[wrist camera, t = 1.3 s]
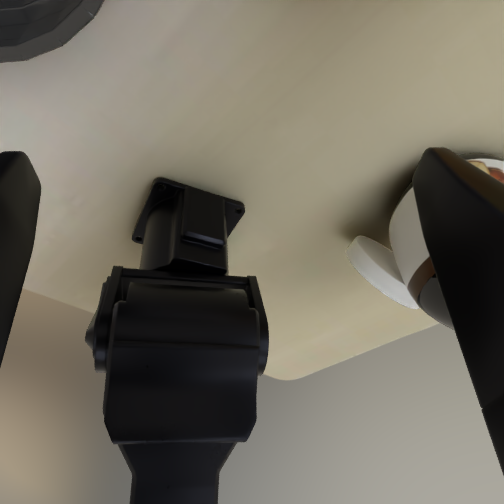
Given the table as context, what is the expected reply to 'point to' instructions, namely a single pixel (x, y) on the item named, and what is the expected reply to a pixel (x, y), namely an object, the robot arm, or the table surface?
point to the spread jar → (410, 253)
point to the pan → (41, 25)
